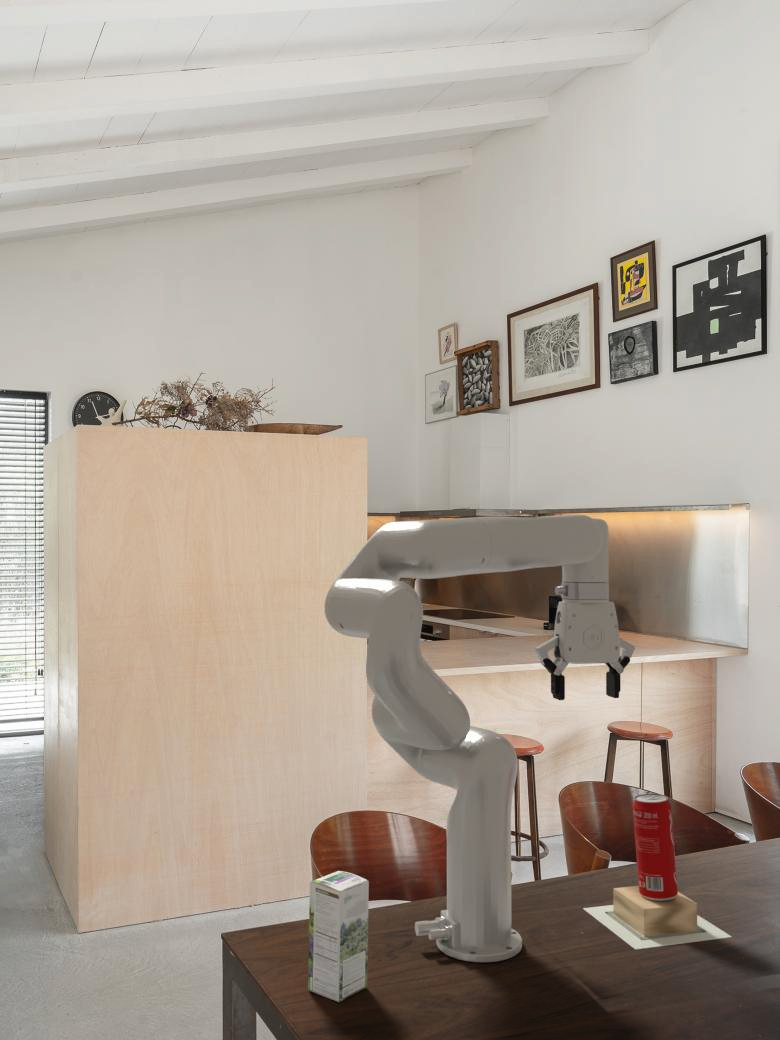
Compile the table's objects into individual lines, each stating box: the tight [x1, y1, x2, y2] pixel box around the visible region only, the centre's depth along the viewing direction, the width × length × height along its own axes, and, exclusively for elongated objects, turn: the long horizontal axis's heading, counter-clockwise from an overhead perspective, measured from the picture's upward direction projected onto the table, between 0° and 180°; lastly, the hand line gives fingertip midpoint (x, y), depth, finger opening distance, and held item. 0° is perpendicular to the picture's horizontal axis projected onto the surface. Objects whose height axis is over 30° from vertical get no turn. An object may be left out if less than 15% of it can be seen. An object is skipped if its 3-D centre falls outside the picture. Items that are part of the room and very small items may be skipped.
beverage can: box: [632, 793, 679, 901], centre depth 144 cm, size 6×6×15 cm
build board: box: [582, 904, 732, 951], centre depth 143 cm, size 16×16×1 cm
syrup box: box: [307, 870, 370, 1003], centre depth 124 cm, size 6×6×14 cm
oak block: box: [612, 885, 698, 937], centre depth 144 cm, size 9×9×4 cm
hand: (585, 697), depth 153 cm, fingers open, 9 cm apart
